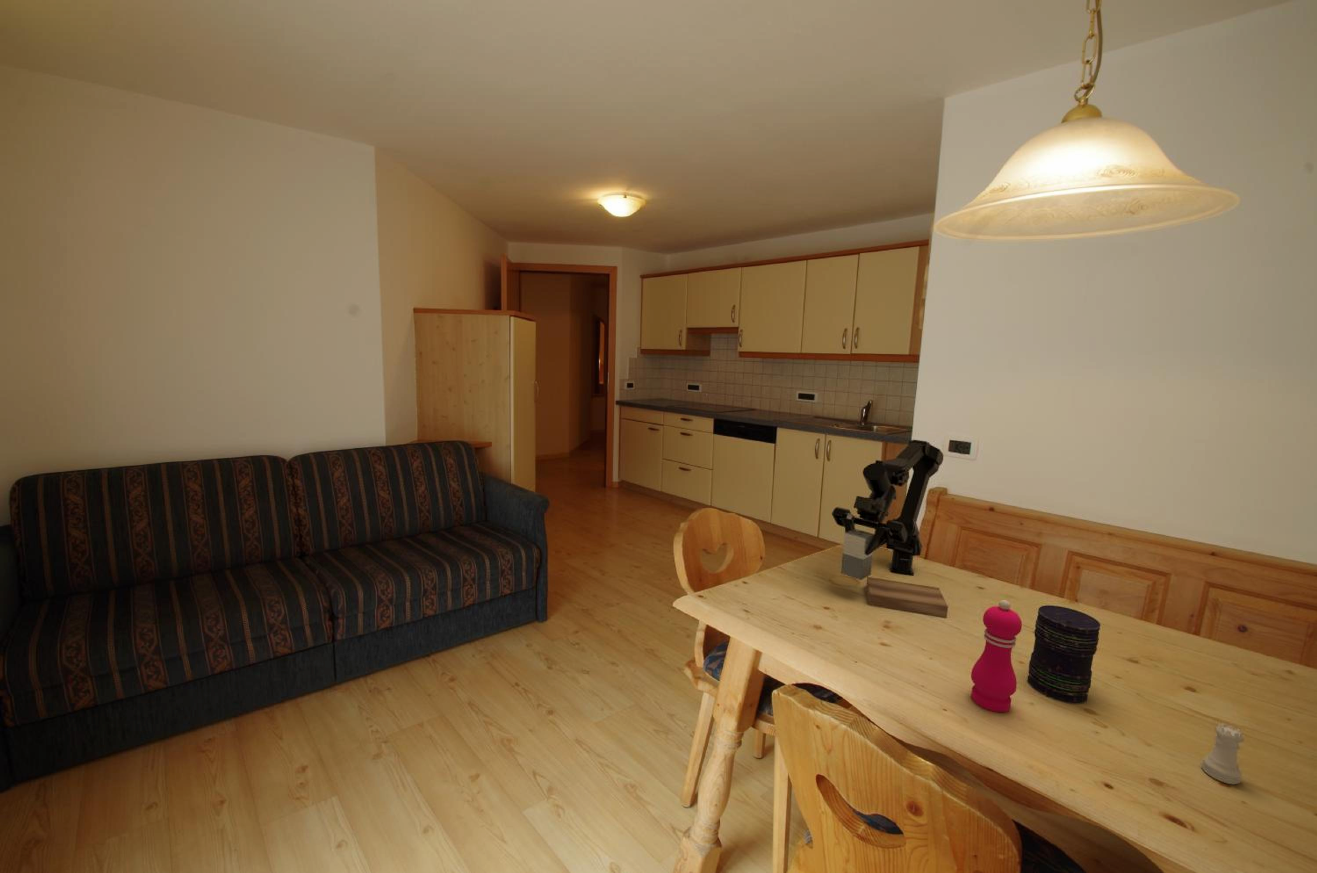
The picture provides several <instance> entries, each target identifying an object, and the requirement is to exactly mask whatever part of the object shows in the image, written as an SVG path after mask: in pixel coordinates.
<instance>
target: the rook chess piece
mask: <svg viewBox="0 0 1317 873" xmlns="http://www.w3.org/2000/svg"><path fill="white" fill-rule="evenodd" d="M1213 730H1214V731H1215V733H1216V736H1215V737H1214V740H1215V741H1214V742H1215V743H1214V746H1213V748H1212V750H1211V752H1209V753H1208V754H1207V755H1205V756H1204V757H1203V758H1202V762H1201V763H1200V765H1201V768H1202V770H1203V771H1204V773H1206V774H1207V776H1210V777H1211V778H1212V779H1214V780H1216V781H1219V782H1221V783H1224V784H1227V785H1237V784H1240V783H1241V782H1242V780H1241V777H1242V771H1241V769H1240V766H1239V764H1238V751H1239V750H1241V747H1240V746H1239V744H1240V743H1243V742H1245V738H1244V737H1243V732H1242V730H1240V729H1239V728H1236V729H1235V726H1233V725H1231V724H1229V727H1228V726H1227V724H1226V723H1218V726H1216V727H1214V729H1213Z"/></svg>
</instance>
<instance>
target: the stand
mask: <svg viewBox="0 0 1317 873" xmlns="http://www.w3.org/2000/svg"><path fill="white" fill-rule="evenodd" d="M865 591H866V595H867V596H866V597H867V601H868V606H870V607H871V606H872V607H875V608H884V609H889V610H894V611H900V612H907V613H912V614H919V615H925V616H930V617H937V618H944V619H947V618H948V611H949V610H948V609H949V606H948V603H947V602H946V600H945V597H944V596H943V593H942V591H941V589H940V587H937V586H931V585H929V586H928V585H922V584H917V583H916V584H915V583H910V582H903V581H895V580H889V579H882V578H875V577H870V576H867V577H866V585H865Z"/></svg>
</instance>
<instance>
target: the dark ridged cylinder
mask: <svg viewBox="0 0 1317 873" xmlns="http://www.w3.org/2000/svg"><path fill="white" fill-rule="evenodd" d="M1037 610H1038V611H1037V616H1036V620H1035V625H1034V626H1035V628H1034V630H1033V631H1034V632H1033V633H1034V645H1033V650H1032V652H1031V655H1030V660H1029V663H1028V674H1027V677H1026V679H1027V680H1026V681H1027V683H1028V685H1029V686H1030V687H1031V688H1032V689H1034V690H1035V691H1036V692H1038V693H1040V694H1041V695H1043V696H1045V697H1047V698H1050V699H1053V700H1055V701H1058V702H1061V703H1062V702H1063V703H1067V704H1075V705H1079V704H1080V705H1081V704H1084V703H1086V702H1087V701H1088V697H1089V694H1088V693H1090V692H1089V691H1090V689H1091V685H1092V675H1093V672H1092V671H1093V670H1092V666H1093V660H1094V655H1095V654H1096V652H1097V650H1098V647H1097V646H1098V644H1099V639H1100V638H1099V636H1100V630H1101V622H1100V621H1099V620H1097V619H1096V618H1095V617H1093V616H1091V615H1089V614H1086V613H1084V612H1083V611H1080V610H1076V609H1074V608H1069V607H1065V606H1059V605H1051V604H1050V605H1047V604H1046V605H1042V606H1039V607H1038V609H1037Z"/></svg>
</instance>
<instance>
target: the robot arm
mask: <svg viewBox="0 0 1317 873" xmlns="http://www.w3.org/2000/svg"><path fill="white" fill-rule="evenodd" d="M943 461H944V453H943V452H942V450H941V449H940V448H938V447H935V445H932V444H931V443H930V442H928V441H926V440H920V439H919V440H918V439H912V440H911V439H910V440H909V442H908V445H907V446H905V448H904V449H903V450H902V451H900V452H899V454H898V455H896V457H894V458H890V459H886V460H885V461H883V460H879V459H876V460H875V461H874V462H873V463H870V464H868V465H866V466H865V467H863V470H862V475H863V477H864V480H865V483H866V485H867V488H868V490H870V491H871V492H870V494H869V496H868V497H866V496H860V495H856V498H855V500H854V504H853V508H854V509H856V513H857V515H859V516H856V515H854V514H853V513H852V512H851V510H850V509H848V508H843V507H840V506H837V507H835V508H833V511H832V512H831V515H832V517H833V520H834V522H835V523H836V525H837V526H840V527H844V534H845V533H846V532H848V531H850V530H853V529H856V525H858V526H862V527H867V528H870V529H872V530H874V534H875V535H874V537H873V538H872V540H871V542H870V544H869V546H868V548H867V550H866V555H869V554H871V553H872V552H873V553H874V552H875V551H876V550H877V549H878V548H880V547H881V546H882V547H883V546H884V545H885V546H886V549H887V550H888V549H889V550H892V555H891V557H892V558H891V563H890V562H889V563H888V567H889V571H890V572H891V573H897V574H903V575H910V576H914V575H915V572H914V569H913V562H914V557H916V556H921V554H922V552H921V551H922V548H923V545H922V542H921V540H920V537H919V536H920V530H919V527H918V523H917V521H918V518H919V514H920V511H921V508H922V505H923V501H924V497H925V496H926V491H927V487H928V485H929V480H930V478H931V477H933V476H934V475H935V474H937V472H939V469H940V466H941V465H942V464H943ZM911 469H912V471H913V472H912V476H911V480H910V481H909V486H908V489H907V492H906V495H905V498H904V502H903V505H902V508H901V511H900V514H899V516H898V517H897V518H893V519H888V520H887V521H886V523H883V522H884V520H885V518H886V517H889V515H890V514H889V509H890V507H891V505H892V503H893V501H894V500H896V499H897V489H896V488H895V486H896V487H903V486H904V485H906V483H908V480H909V479H910V471H911Z"/></svg>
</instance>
